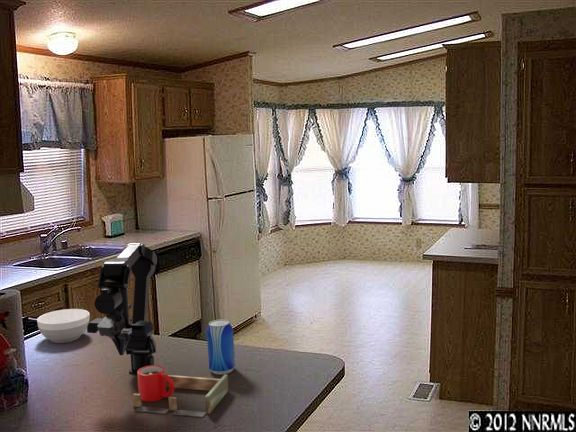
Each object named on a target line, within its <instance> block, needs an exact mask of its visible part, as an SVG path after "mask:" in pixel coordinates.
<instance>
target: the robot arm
mask: <svg viewBox="0 0 576 432" xmlns="http://www.w3.org/2000/svg"><path fill="white" fill-rule="evenodd" d="M157 263H158V256H157V254H156V252H155V251H154V250H153V249H151V248H149V247H147V246H146V245H145V244H144V243H142V242H130V243H128V244H127V245H126V247H125V249H124V250H123V251H121V253H120V254H118V256H117V257H115V258H112V259H111V258H110V259H108V260H106V261H105V262H103V265H102V266H101V269H100V275H99V281H98V285H97V288H98V289H100V294H99V295H98V296H96V298H95V299H94V307H95V309H96V310H97V312H99V313H100V314H102V315H103V314H104V315H105V317H103V318H101V317H97V318H95V319H93V320H91V321H89V323H88V325H87V329H86V333H88V334H97V333H99V336H100V337H108V338H109V339H111V340H112V343H114V347H115V348H116V350H117V353H118V354H119V356H123V355H124V354H125V353H126V355H127V356H128V355H130V366H131V370H129V371H128V373H129V374H134V375H137V371H138V370H139V369H140V368H142V367H145V366H149V365H155V356H154V354H155V353H157V343H156V340H155V339H154V337H153V336H152V335H153V334H152V331H154V324H153V323H152V321H150V320H148V313H149V312H148V310H149V297H150V296H149V295H150V293H149V291H150V279H151V277H152V276H153V275H154V273H155V271H156V266H157ZM132 274H133V276H134V287H133V305H132V304H130V303H129V295H128V294H129V292H128V285H129V283H130V280H131V275H132ZM131 308H132V317H130V309H131Z"/></svg>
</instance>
